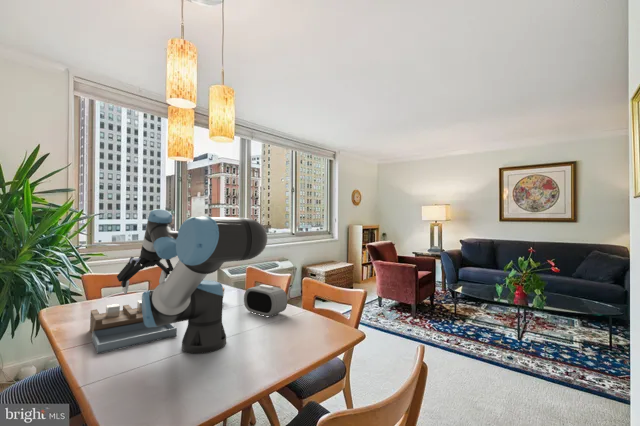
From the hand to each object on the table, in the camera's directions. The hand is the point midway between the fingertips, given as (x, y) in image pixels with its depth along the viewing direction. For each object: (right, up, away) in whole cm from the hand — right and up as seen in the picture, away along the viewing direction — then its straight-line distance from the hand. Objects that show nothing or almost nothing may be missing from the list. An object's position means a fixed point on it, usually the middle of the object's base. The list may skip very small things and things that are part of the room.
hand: (143, 287), depth 123 cm
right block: (-3, -11, +6) cm, 13 cm away
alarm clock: (+45, -19, +26) cm, 55 cm away
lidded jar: (+14, -19, +41) cm, 47 cm away
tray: (+1, -17, -8) cm, 19 cm away
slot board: (-7, -17, +1) cm, 18 cm away
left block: (-11, -11, -2) cm, 16 cm away
